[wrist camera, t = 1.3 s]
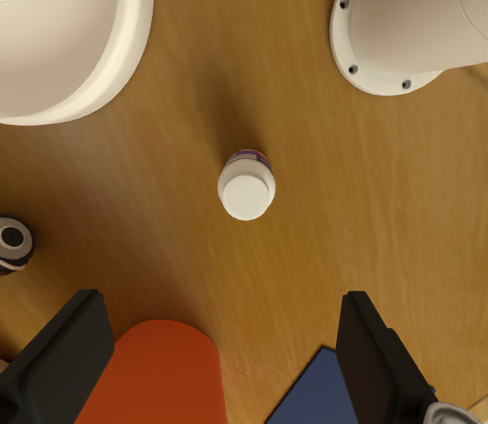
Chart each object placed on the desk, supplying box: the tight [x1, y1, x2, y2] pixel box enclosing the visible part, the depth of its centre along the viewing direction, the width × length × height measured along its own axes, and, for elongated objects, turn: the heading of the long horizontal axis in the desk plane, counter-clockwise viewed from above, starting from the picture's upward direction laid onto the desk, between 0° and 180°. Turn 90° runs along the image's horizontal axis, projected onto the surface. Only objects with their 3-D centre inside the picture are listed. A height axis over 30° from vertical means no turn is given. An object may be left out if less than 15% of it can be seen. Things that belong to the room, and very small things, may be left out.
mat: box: [265, 346, 436, 424], centre depth 46 cm, size 20×20×1 cm
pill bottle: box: [218, 149, 276, 220], centre depth 27 cm, size 5×5×10 cm
